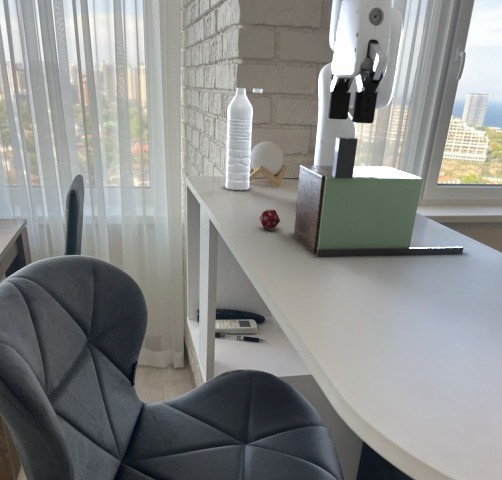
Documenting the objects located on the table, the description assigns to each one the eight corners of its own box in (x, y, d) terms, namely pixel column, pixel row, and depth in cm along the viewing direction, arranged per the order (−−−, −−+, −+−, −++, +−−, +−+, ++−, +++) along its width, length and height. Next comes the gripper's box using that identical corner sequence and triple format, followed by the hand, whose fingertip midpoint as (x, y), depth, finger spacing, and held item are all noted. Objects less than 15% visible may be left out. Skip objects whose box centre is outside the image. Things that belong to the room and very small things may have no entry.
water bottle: (224, 189, 136) (227, 86, 125) (226, 185, 142) (229, 86, 131) (256, 191, 136) (262, 88, 125) (257, 187, 142) (262, 88, 131)
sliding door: (316, 251, 88) (329, 136, 79) (406, 250, 91) (427, 140, 83) (319, 254, 86) (333, 138, 78) (411, 252, 90) (433, 141, 82)
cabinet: (293, 234, 98) (300, 165, 93) (423, 233, 104) (436, 168, 99) (317, 256, 86) (326, 178, 80) (462, 254, 92) (480, 180, 86)
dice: (261, 225, 103) (262, 206, 102) (282, 228, 102) (284, 208, 100) (255, 229, 100) (256, 209, 98) (276, 233, 99) (278, 212, 97)
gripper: (422, -21, 64) (397, 125, 71) (365, 0, 79) (350, 118, 86) (366, -27, 62) (348, 123, 69) (319, -5, 77) (308, 116, 85)
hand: (349, 120), depth 78 cm, fingers open, 9 cm apart
